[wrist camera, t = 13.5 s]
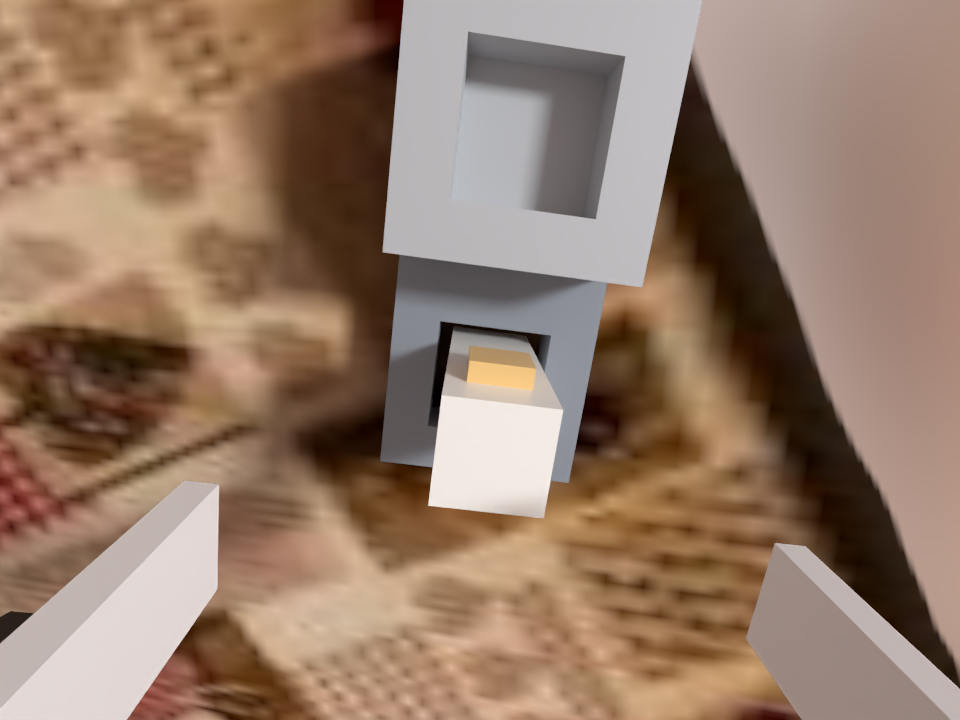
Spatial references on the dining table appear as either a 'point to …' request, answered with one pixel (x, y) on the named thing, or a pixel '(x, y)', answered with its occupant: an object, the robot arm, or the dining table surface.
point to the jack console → (523, 183)
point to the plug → (495, 427)
